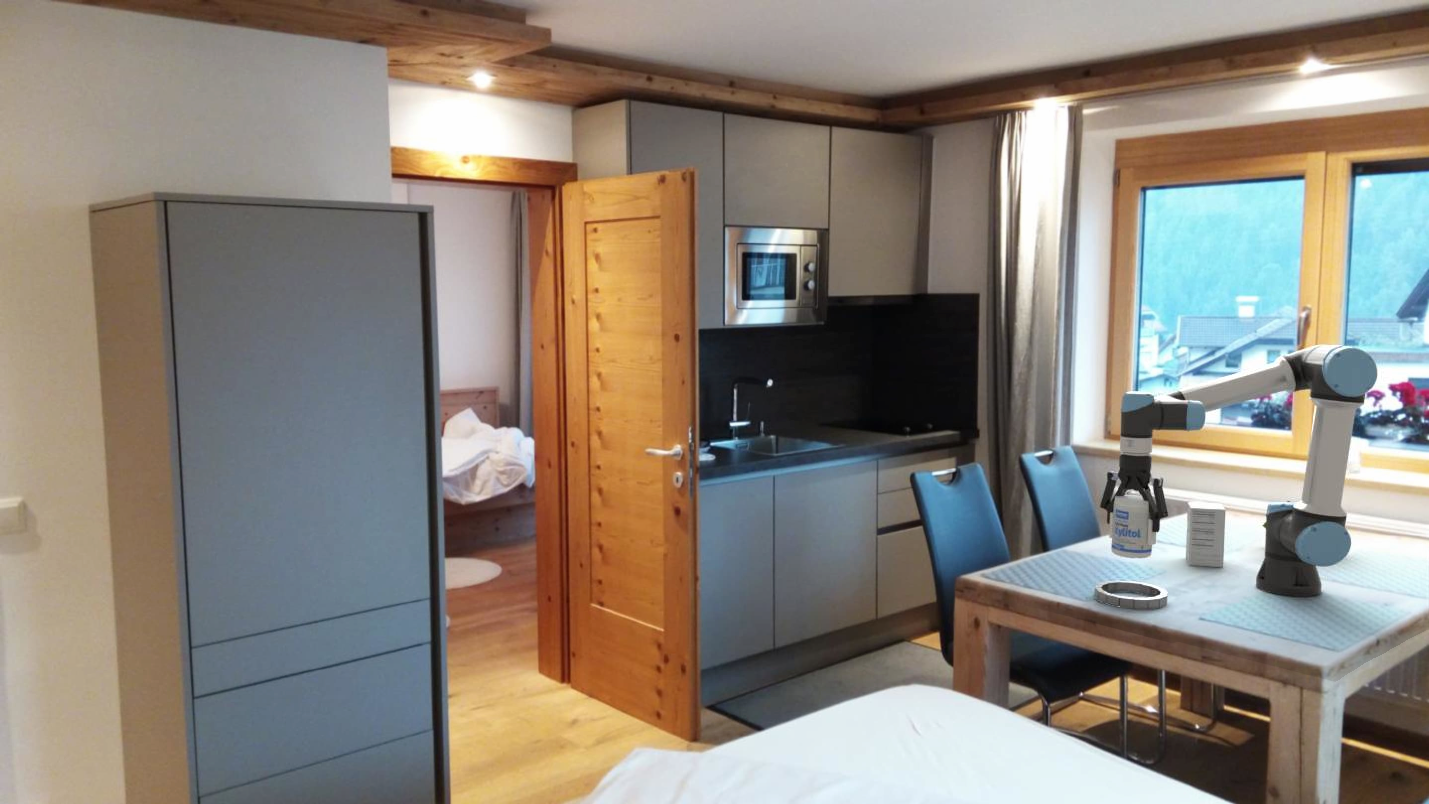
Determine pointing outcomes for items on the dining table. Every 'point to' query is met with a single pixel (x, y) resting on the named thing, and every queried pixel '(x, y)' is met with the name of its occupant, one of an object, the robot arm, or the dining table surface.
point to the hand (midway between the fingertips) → (1132, 540)
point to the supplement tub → (1130, 527)
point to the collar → (1134, 603)
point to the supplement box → (1205, 534)
